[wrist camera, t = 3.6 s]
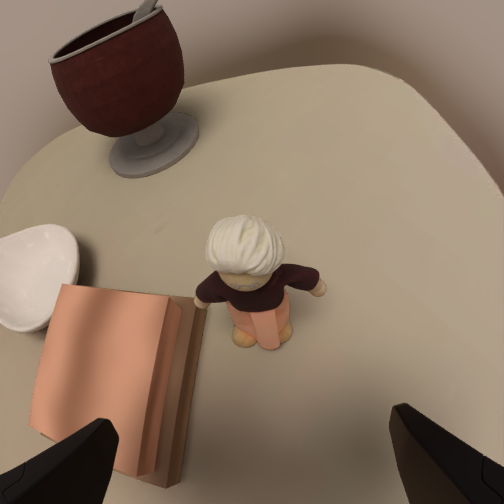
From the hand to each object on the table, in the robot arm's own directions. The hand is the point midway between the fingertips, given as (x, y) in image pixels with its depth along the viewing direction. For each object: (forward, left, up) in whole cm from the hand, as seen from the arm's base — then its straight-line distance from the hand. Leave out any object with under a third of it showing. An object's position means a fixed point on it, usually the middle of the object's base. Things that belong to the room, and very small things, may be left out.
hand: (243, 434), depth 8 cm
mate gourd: (+17, -29, -13) cm, 36 cm away
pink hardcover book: (+12, -1, -13) cm, 18 cm away
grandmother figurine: (+1, -7, -13) cm, 15 cm away
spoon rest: (+29, -7, -13) cm, 33 cm away
